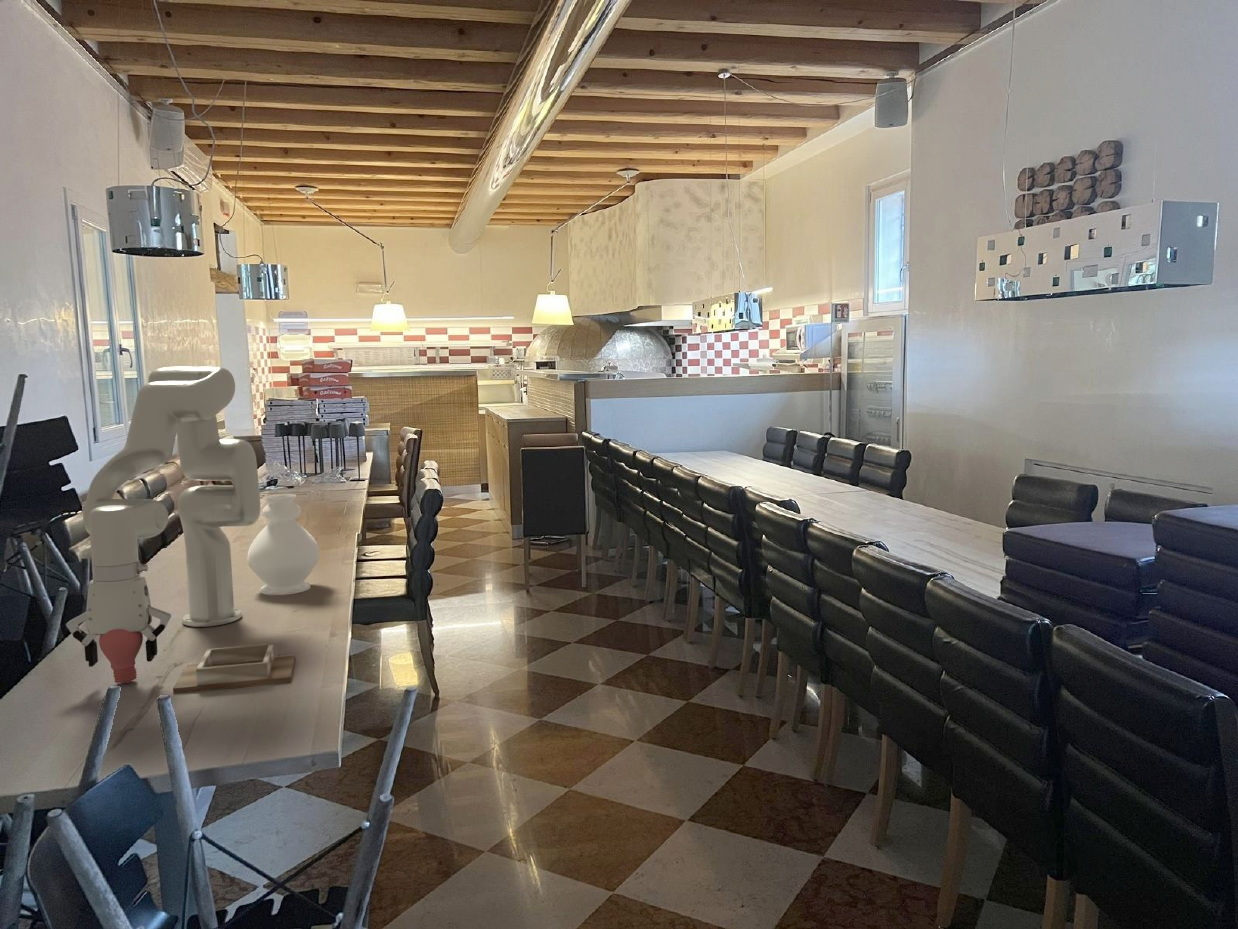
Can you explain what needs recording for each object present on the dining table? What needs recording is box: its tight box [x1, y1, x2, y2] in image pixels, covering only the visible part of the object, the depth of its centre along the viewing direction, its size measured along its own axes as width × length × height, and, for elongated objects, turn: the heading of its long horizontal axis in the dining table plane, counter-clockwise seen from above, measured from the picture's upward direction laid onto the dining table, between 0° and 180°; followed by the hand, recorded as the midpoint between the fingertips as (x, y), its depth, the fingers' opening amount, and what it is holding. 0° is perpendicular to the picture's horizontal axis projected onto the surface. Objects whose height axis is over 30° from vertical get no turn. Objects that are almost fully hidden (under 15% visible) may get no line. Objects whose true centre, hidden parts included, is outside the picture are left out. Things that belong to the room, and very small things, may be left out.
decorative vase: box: [247, 493, 321, 596], centre depth 233 cm, size 18×18×25 cm
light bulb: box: [98, 629, 144, 684], centre depth 165 cm, size 7×7×12 cm
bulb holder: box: [172, 643, 297, 695], centre depth 169 cm, size 13×20×4 cm, turn 106°
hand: (122, 662), depth 165 cm, fingers open, 9 cm apart
